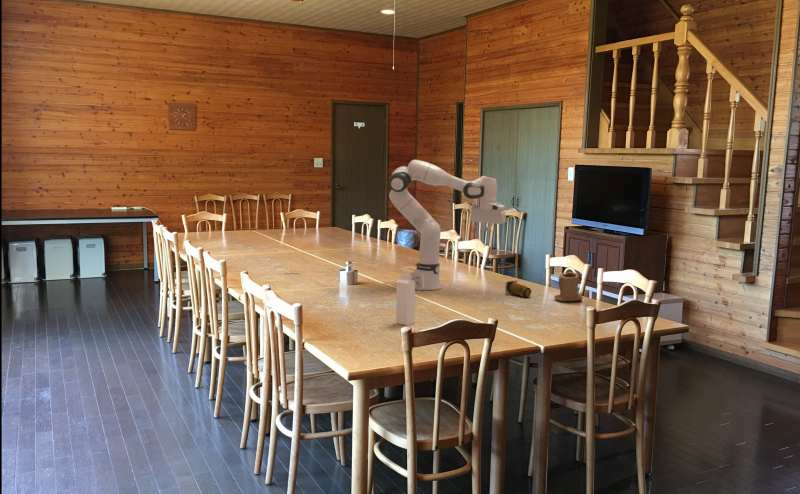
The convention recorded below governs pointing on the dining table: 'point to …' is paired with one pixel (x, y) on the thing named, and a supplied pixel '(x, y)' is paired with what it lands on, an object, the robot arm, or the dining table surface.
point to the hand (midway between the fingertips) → (487, 231)
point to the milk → (405, 300)
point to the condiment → (517, 289)
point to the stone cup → (568, 287)
